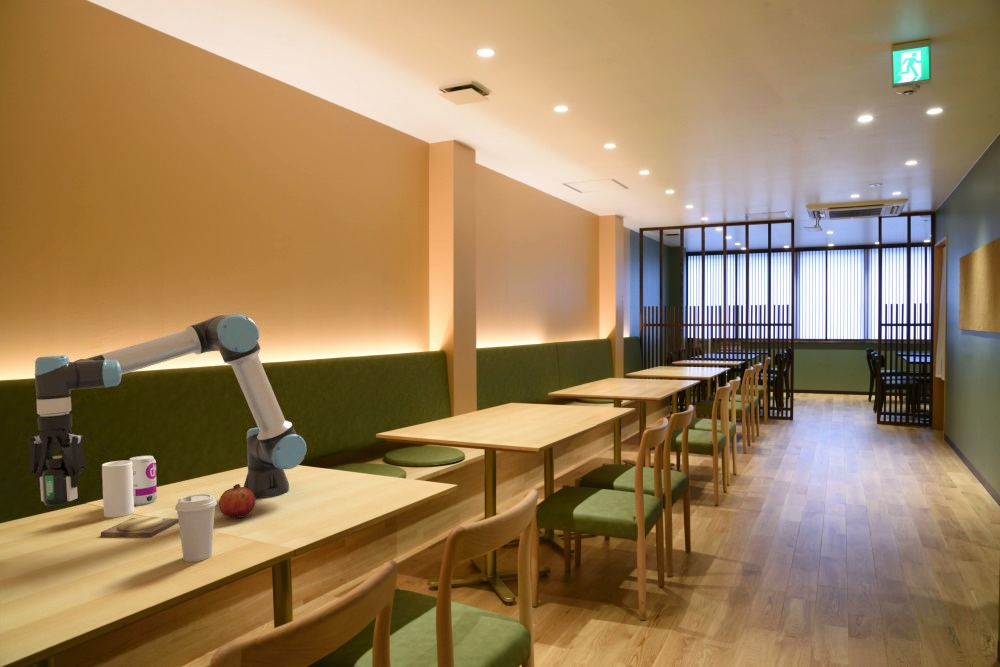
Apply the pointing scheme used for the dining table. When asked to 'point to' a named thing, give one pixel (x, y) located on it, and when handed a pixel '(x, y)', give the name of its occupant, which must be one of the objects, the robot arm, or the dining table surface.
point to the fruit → (237, 502)
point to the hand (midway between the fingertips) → (59, 499)
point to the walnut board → (140, 527)
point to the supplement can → (144, 479)
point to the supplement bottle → (55, 481)
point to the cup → (117, 488)
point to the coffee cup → (196, 525)
